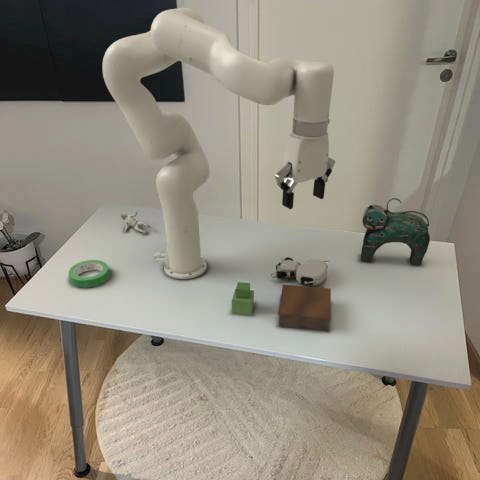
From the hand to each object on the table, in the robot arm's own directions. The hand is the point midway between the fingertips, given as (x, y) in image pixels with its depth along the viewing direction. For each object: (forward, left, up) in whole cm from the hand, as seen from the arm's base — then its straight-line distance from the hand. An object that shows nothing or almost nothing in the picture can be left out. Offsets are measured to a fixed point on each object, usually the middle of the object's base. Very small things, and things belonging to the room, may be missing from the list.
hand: (303, 201), depth 110 cm
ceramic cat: (+27, +22, -27) cm, 44 cm away
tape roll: (-59, -1, -27) cm, 65 cm away
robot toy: (+1, +8, -27) cm, 28 cm away
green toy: (-13, -9, -27) cm, 31 cm away
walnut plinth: (+3, -9, -27) cm, 28 cm away
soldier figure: (-56, +30, -27) cm, 69 cm away
